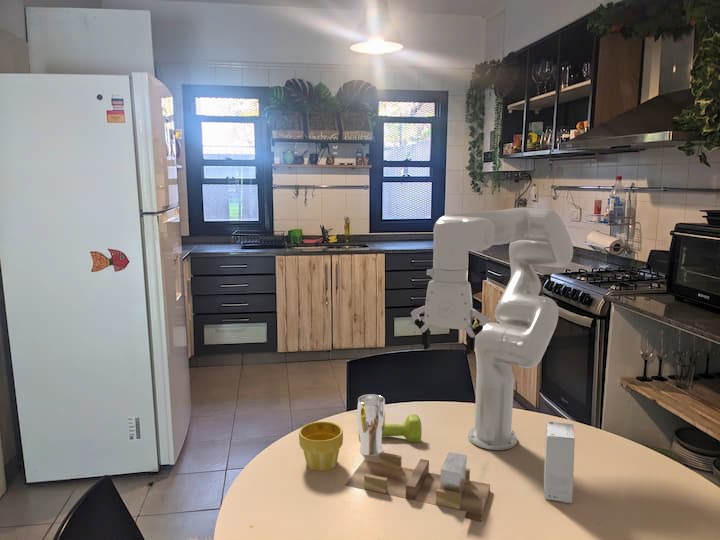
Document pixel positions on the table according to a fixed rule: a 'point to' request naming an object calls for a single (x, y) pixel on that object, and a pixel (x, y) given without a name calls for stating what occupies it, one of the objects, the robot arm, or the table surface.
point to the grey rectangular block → (454, 473)
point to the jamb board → (427, 490)
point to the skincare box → (559, 462)
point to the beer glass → (371, 423)
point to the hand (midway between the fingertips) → (447, 350)
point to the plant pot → (321, 444)
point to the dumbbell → (405, 429)
